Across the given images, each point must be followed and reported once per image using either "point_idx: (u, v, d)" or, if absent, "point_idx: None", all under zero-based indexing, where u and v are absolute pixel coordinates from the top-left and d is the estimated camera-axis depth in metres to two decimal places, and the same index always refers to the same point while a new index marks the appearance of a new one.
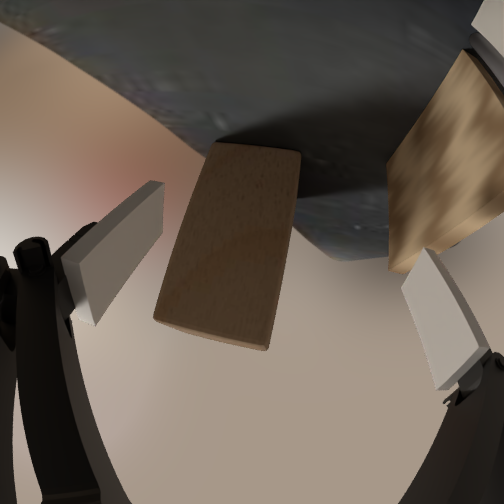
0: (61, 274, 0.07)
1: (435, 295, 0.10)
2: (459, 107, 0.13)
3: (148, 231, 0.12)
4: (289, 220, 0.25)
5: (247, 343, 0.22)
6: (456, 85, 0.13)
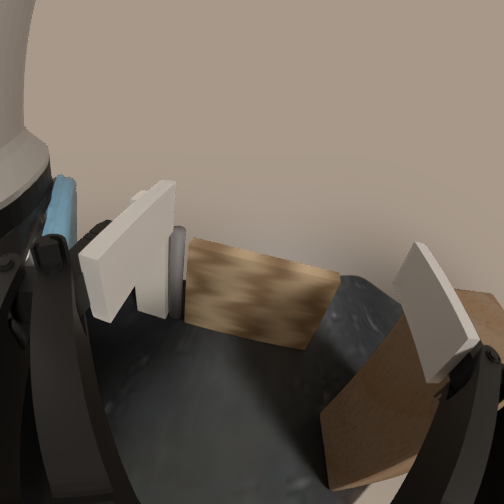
0: (77, 271, 0.07)
1: (426, 288, 0.11)
2: (213, 307, 0.33)
3: (160, 229, 0.12)
4: (354, 376, 0.22)
5: None
6: (205, 317, 0.34)
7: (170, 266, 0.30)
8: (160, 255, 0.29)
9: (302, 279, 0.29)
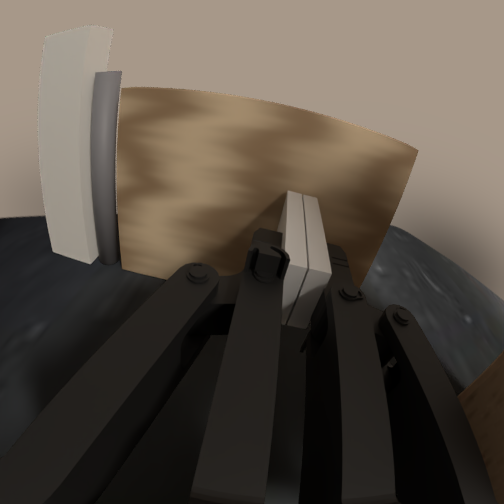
0: None
1: None
2: (168, 227, 0.16)
3: None
4: None
5: None
6: (156, 252, 0.17)
7: (91, 146, 0.14)
8: (74, 122, 0.12)
9: (349, 140, 0.13)
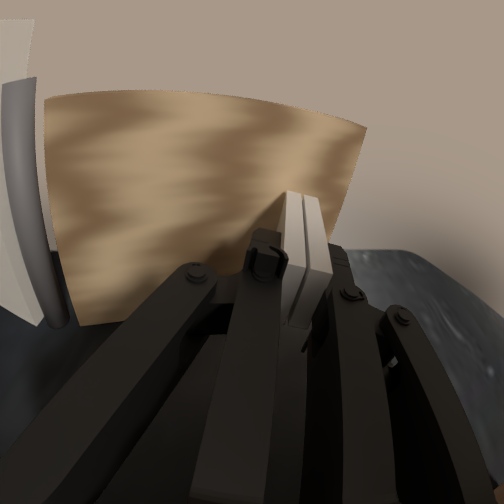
0: None
1: None
2: (128, 263, 0.13)
3: None
4: None
5: None
6: (117, 294, 0.13)
7: (7, 187, 0.08)
8: None
9: (312, 128, 0.13)
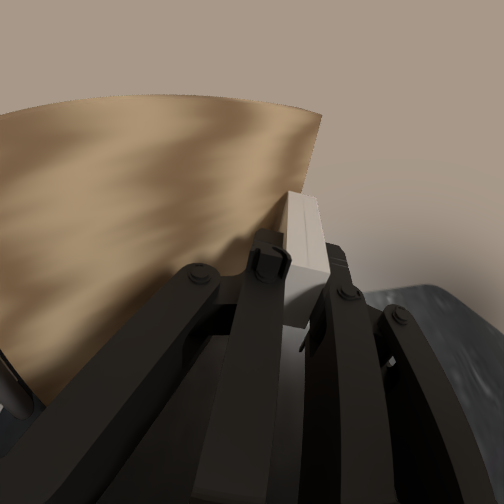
0: None
1: None
2: (81, 332, 0.09)
3: None
4: None
5: None
6: (78, 367, 0.09)
7: None
8: None
9: (270, 124, 0.11)
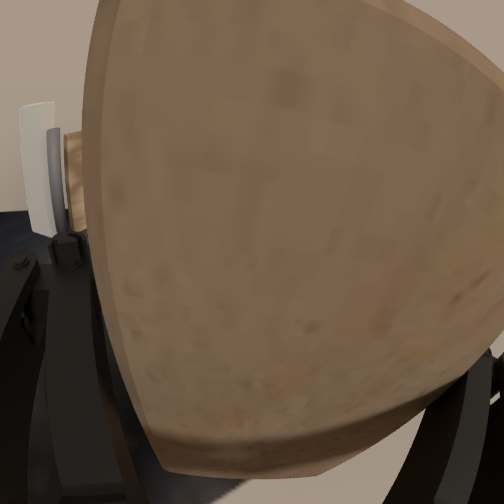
0: None
1: None
2: None
3: None
4: None
5: None
6: None
7: (48, 170, 0.23)
8: (38, 158, 0.22)
9: None
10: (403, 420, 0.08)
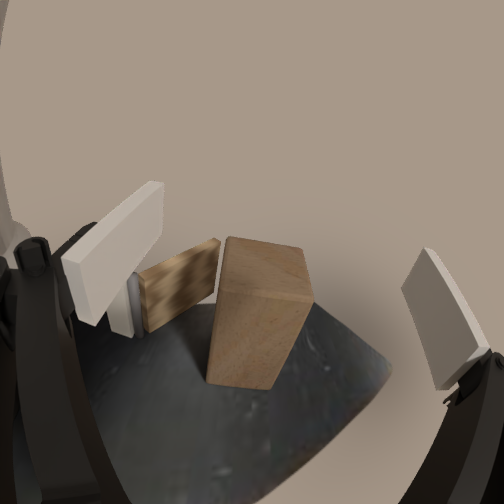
0: (61, 274, 0.07)
1: (435, 295, 0.10)
2: (164, 307, 0.44)
3: (148, 231, 0.12)
4: None
5: (228, 241, 0.34)
6: (160, 317, 0.44)
7: (130, 300, 0.38)
8: (121, 293, 0.36)
9: (204, 253, 0.46)
10: (283, 354, 0.33)
